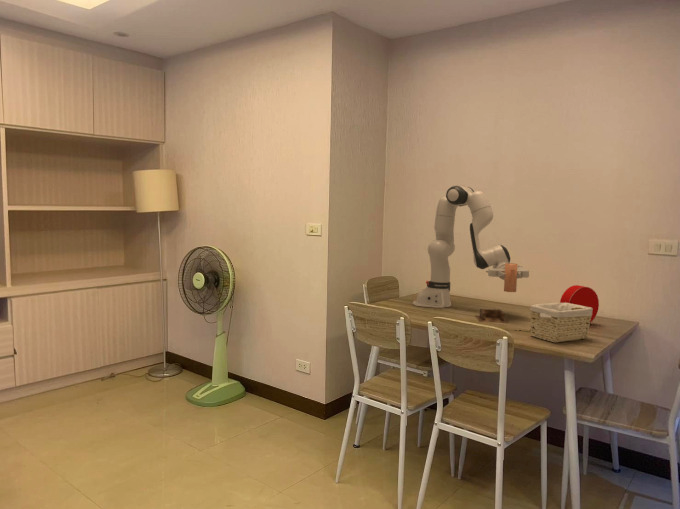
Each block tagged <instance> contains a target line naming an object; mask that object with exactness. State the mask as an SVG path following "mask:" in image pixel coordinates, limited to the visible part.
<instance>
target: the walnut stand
mask: <svg viewBox="0 0 680 509" xmlns="http://www.w3.org/2000/svg"><path fill="white" fill-rule="evenodd" d="M474 317H475V318H476V320H477V321H478V322H479V323H498V324H500V323H501V324H511V323H510V321H509V320H508V319H506V317H505V312H503V311H502V310H501V309H492V308H491V309H486V308H479V315H474Z"/></svg>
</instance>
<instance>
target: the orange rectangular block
mask: <svg viewBox="0 0 680 509" xmlns="http://www.w3.org/2000/svg"><path fill="white" fill-rule="evenodd" d="M517 266H519V265H518V263H514V262H513V263H512V262H510V263H505V277H504V280H503V292H505V293H516V292H517V286H518V284H517V283H518V278H517Z"/></svg>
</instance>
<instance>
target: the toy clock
mask: <svg viewBox="0 0 680 509" xmlns="http://www.w3.org/2000/svg"><path fill="white" fill-rule="evenodd" d="M559 303H570V304H576V305H581V306H585V307H591V308H593V311H592V316H591V320H590V324H591V323H592V322H593V321H594V320H595V319H596V316H597V314H598V311H599V307H600V304H599V303H600V300H599V296H598V294H597V292H596V291H595V290H594V289H593V288H591V287H588V286H584V285H583V286H582V285H578V284H577V285H572V286H569V287H568V288H567V289H566V290H565V291H564V292H563V294H562V295H561V298H560V301H559Z"/></svg>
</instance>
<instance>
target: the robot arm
mask: <svg viewBox="0 0 680 509" xmlns="http://www.w3.org/2000/svg"><path fill="white" fill-rule="evenodd" d="M489 201H490V200H489V199H488V197H487V196H486V194H485V193H484V192H483V191H480V190H474V189H473V188H471V187H469V186H465V185H453V186H451V187H449V188H448V189H447V190H446V193H445V196H442V197H440V198H439V199H438V202H437V205H436V206H437V207H436V211H435V218H434V227H433V228H434V233H435V240H433V241H431V243H430V244H428V247H427V253H428V255H429V262H430V280H426V281H425V283H426V287H425V288H424V289H422V290H421V291H419V292H418V293H417V296H416V299H415V300H413V301H412V305H414V306H416V307H424V308H425V307H426V308H437V309H439V308H440V309H443V308H449V307H451V306H452V303H451V295H450V291H451V281H450V280H451V267H450V263H449V257H451V256H452V255H453V254H454V252H455V250H456V246H455V238H454V237H455V236H454V235H455V234H454V233H455V232H454V229H455V221H456V220H455V219H456V211H457V208H458V207H464V206H465V207H466V206H468V208H469V210H470V213H471V217H472V218H471V219H472V220H471V222H470V223H469V233H470V241H471V246H472V247H471V248H472V253H473V263H474V265H475V267H476V268H478V269H481V270H485V269H487V268H488V270H485V272H486V273H487V275H488V277H490V278H491V277H493V278H494V277H496V278H499V279H501V280H503V281H504V277H505V263H511V256H510V252H509V251H508V248H507V247H505V246H504V245H503V244H497V245H495V246H491V247H488V248H486V249H481V245H480V239H479V234H480V233H481V231H482V230H484V229H485V228H486V227H487V226H488V225H489V224H491V222H492V221H493V219H494V211H493V209H492V206H491V203H490V202H489ZM490 267H492V268H490ZM529 277H530V271H529V269H527V268H525V267H523V265H522V266H521V265H517V279H522V278H523V279H524V278H526V279H527V278H529Z"/></svg>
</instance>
